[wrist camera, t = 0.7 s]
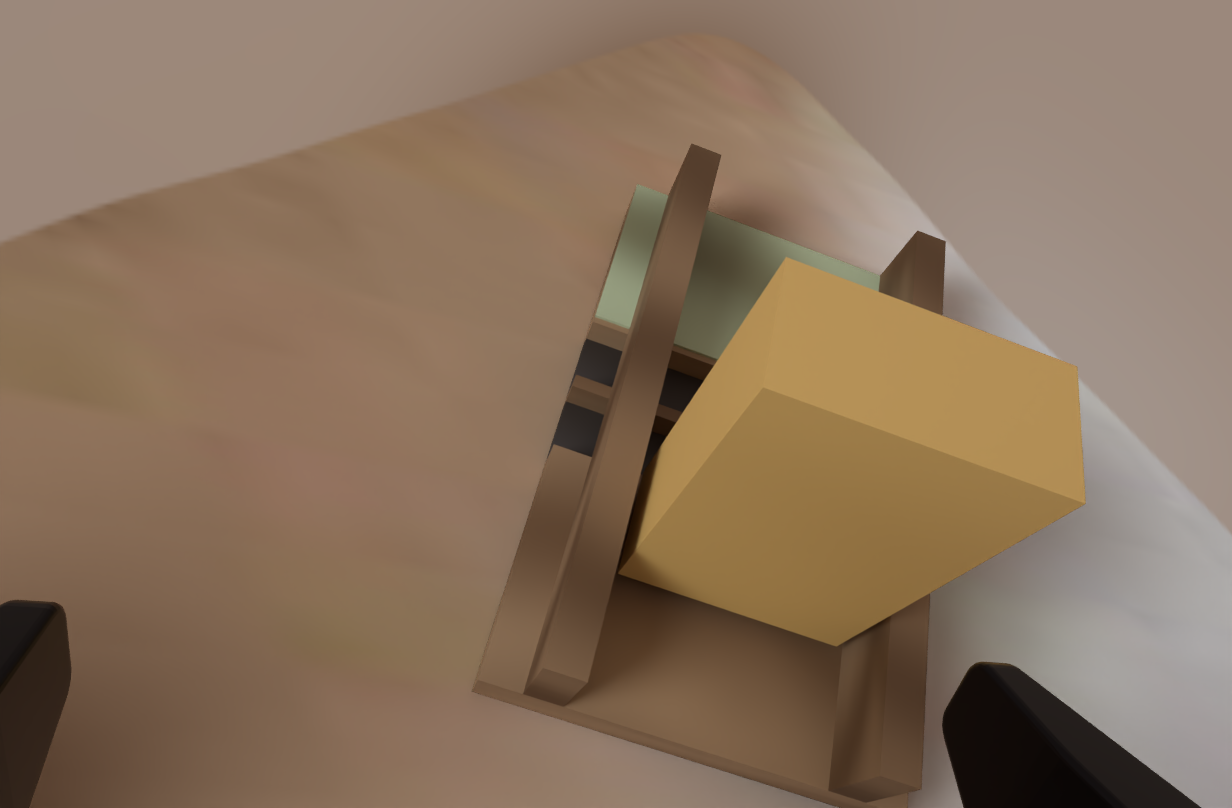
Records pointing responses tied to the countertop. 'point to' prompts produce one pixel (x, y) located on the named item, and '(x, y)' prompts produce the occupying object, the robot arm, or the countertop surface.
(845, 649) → the board
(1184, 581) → the countertop surface
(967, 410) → the block
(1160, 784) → the robot arm
